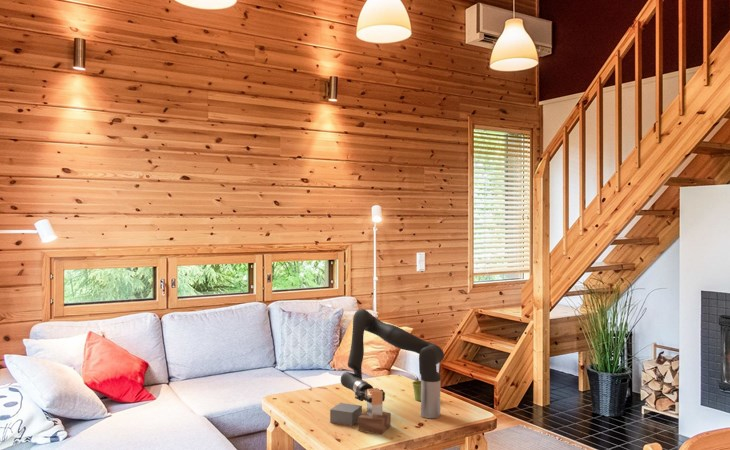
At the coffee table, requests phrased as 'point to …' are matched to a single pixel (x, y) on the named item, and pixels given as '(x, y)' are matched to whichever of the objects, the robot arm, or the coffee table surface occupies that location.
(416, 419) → the coffee table surface
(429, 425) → the coffee table surface
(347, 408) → the stand
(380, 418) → the stand
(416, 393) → the plant pot
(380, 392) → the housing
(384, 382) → the coffee table surface
